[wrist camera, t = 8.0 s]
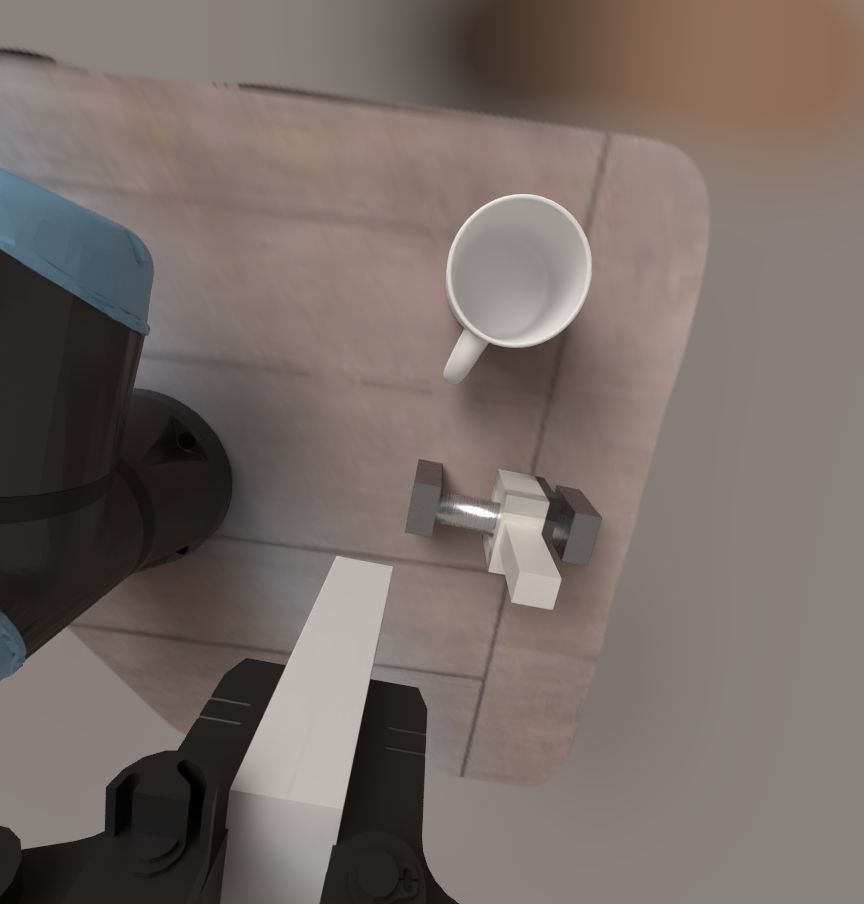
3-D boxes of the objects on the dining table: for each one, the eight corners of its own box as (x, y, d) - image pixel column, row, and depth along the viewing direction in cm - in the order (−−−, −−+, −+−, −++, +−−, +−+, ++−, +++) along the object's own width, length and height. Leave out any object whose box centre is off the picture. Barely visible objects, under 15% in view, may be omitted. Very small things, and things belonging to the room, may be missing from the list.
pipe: (410, 502, 42) (404, 533, 36) (418, 459, 41) (414, 482, 35) (567, 532, 43) (588, 567, 37) (579, 489, 42) (602, 518, 36)
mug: (489, 400, 40) (503, 426, 30) (402, 347, 39) (387, 355, 29) (574, 267, 37) (622, 246, 27) (483, 206, 36) (498, 161, 26)
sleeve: (482, 536, 41) (498, 631, 28) (498, 469, 39) (523, 538, 27) (526, 544, 41) (562, 643, 28) (544, 477, 39) (590, 550, 27)
